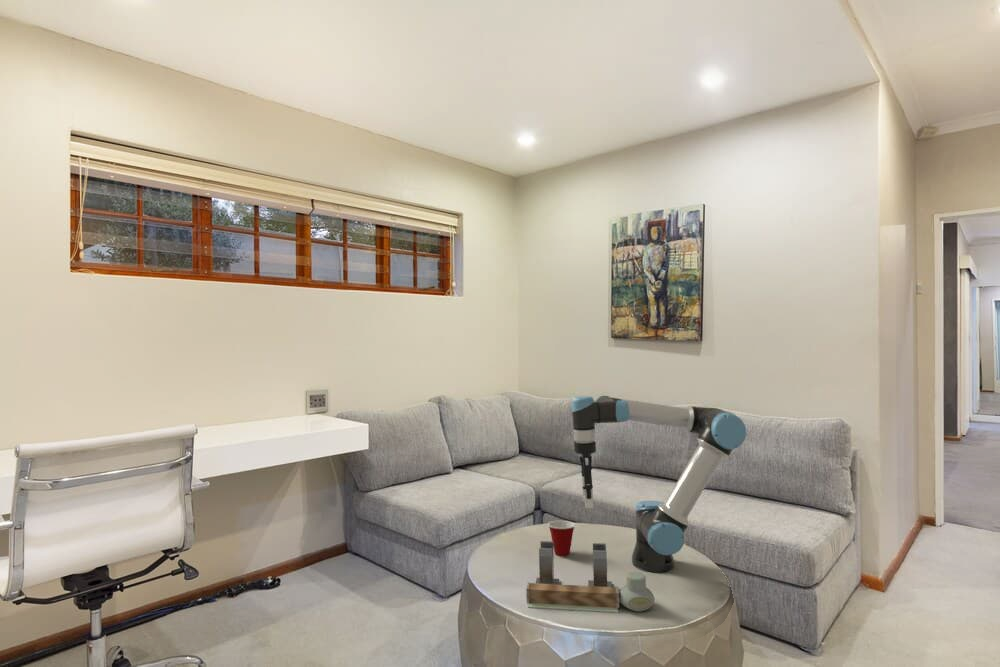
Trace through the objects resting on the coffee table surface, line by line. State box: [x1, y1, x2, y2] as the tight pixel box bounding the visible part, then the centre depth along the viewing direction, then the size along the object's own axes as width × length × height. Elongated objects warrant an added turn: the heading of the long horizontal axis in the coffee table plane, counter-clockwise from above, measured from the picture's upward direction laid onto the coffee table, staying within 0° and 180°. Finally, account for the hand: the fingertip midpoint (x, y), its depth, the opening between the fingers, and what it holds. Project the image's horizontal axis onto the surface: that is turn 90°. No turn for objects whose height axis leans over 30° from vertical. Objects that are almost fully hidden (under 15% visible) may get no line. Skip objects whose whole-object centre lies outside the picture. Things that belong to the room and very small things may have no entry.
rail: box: [525, 581, 620, 609], centre depth 176 cm, size 29×5×5 cm, turn 81°
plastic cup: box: [547, 520, 576, 557], centre depth 215 cm, size 11×11×12 cm
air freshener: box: [619, 571, 655, 613], centre depth 173 cm, size 11×8×10 cm
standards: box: [535, 540, 613, 587], centre depth 186 cm, size 26×10×14 cm, turn 81°
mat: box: [527, 603, 619, 614], centre depth 176 cm, size 28×9×1 cm, turn 81°
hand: (587, 501), depth 191 cm, fingers open, 13 cm apart
